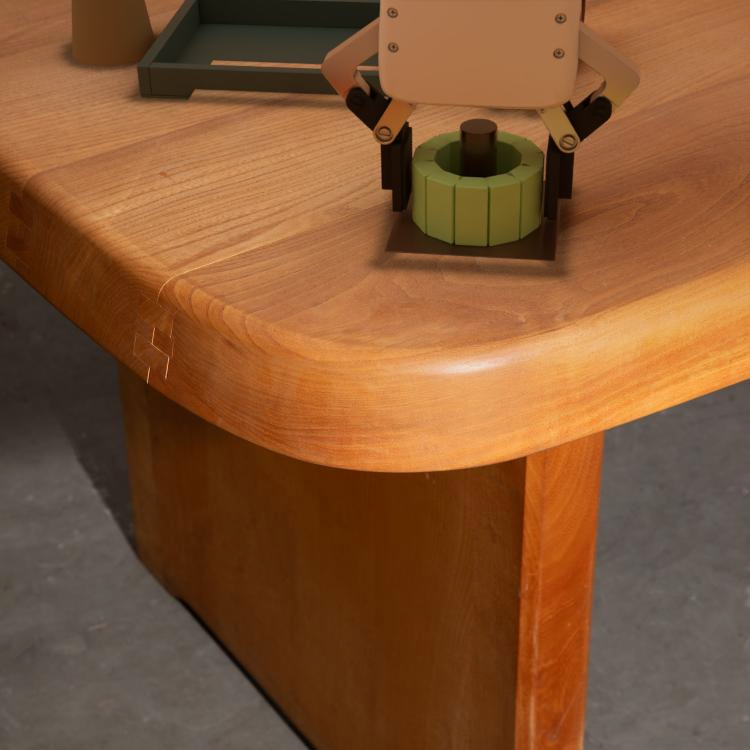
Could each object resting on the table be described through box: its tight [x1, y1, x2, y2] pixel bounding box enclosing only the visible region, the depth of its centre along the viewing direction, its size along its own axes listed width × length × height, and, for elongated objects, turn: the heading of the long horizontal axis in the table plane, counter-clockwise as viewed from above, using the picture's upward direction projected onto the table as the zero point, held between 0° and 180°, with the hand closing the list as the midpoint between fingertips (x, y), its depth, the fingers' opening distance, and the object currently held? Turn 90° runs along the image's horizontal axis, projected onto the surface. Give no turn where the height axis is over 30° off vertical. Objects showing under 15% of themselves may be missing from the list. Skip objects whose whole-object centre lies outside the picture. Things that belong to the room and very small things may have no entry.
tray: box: [136, 0, 389, 100], centre depth 100 cm, size 18×14×3 cm
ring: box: [412, 129, 546, 246], centre depth 79 cm, size 7×7×4 cm
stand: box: [384, 118, 563, 262], centre depth 79 cm, size 9×9×6 cm
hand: (476, 202), depth 79 cm, fingers open, 7 cm apart
